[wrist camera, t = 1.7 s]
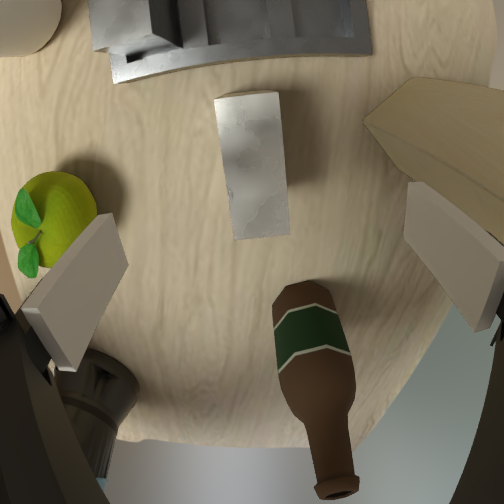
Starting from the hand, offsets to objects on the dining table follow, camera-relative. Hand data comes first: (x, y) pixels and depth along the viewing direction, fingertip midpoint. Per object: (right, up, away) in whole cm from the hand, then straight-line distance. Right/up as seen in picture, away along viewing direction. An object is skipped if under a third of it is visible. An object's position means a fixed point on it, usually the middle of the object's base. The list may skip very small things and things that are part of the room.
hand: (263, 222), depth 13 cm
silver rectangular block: (0, +9, +16) cm, 18 cm away
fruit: (-20, +5, +18) cm, 27 cm away
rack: (-2, +22, +8) cm, 24 cm away
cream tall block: (+15, +12, +15) cm, 24 cm away
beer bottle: (+6, -8, +26) cm, 27 cm away
